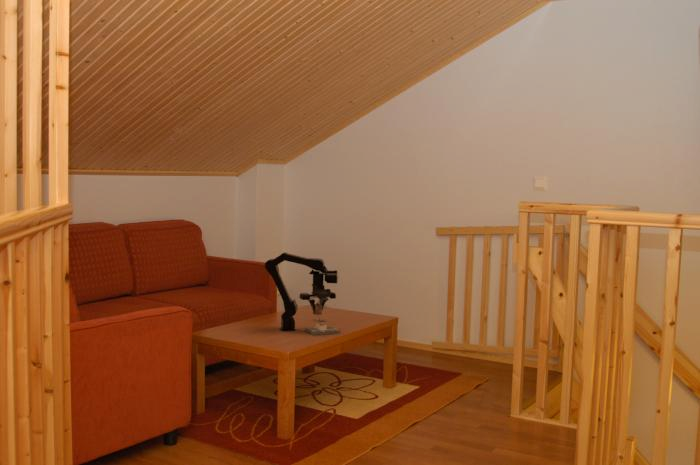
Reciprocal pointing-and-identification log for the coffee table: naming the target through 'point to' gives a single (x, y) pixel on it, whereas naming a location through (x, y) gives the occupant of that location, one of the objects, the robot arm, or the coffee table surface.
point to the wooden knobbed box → (318, 309)
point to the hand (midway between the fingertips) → (317, 311)
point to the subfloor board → (316, 332)
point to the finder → (321, 327)
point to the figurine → (322, 309)
